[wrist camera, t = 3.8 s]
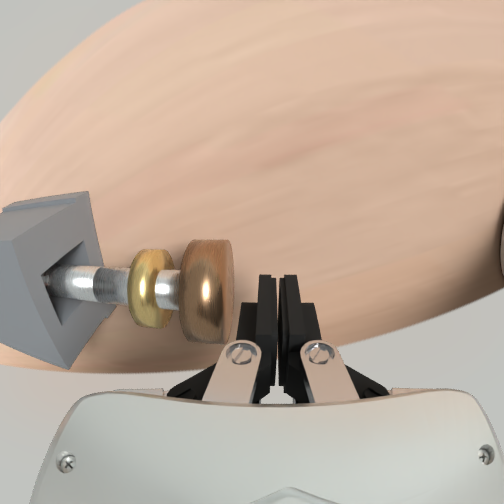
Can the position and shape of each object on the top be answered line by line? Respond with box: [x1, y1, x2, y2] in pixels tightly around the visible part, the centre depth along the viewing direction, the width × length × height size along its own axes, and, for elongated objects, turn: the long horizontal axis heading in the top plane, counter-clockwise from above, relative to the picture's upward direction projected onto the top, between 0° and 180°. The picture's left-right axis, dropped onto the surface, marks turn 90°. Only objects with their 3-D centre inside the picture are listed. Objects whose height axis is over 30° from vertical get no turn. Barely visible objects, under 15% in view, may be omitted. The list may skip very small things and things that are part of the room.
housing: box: [0, 191, 116, 370], centre depth 14 cm, size 9×9×7 cm
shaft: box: [41, 240, 234, 344], centre depth 14 cm, size 13×5×5 cm, turn 91°
